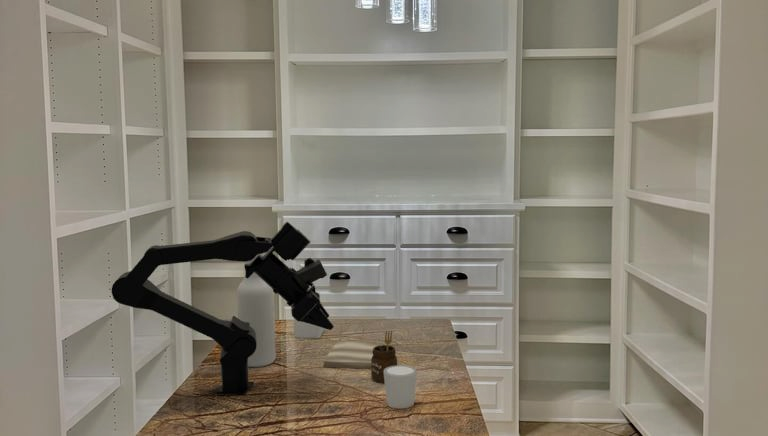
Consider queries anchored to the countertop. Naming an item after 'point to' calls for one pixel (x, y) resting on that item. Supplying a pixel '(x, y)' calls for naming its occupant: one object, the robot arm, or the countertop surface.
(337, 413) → the countertop surface
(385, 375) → the white cup
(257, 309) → the alcohol
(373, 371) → the utensil holder
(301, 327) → the medicine bottle
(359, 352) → the ash cloth
